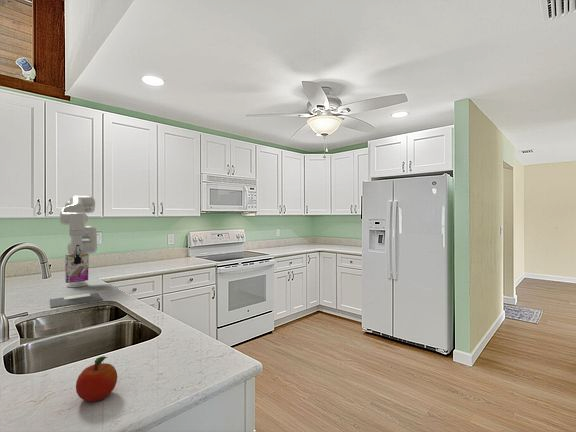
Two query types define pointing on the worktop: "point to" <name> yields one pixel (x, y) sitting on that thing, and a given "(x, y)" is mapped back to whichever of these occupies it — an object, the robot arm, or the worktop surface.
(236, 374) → the worktop surface
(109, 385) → the fruit
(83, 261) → the candy bar box
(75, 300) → the mat
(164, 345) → the worktop surface
